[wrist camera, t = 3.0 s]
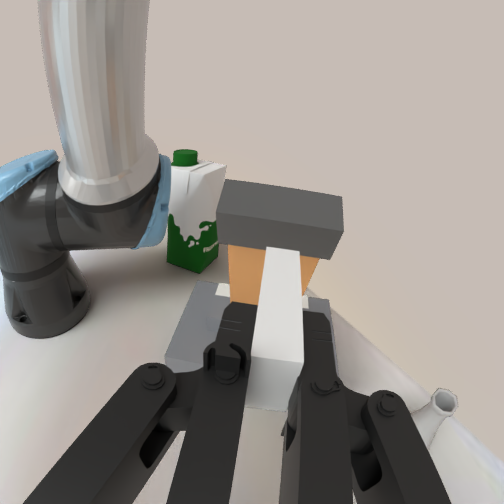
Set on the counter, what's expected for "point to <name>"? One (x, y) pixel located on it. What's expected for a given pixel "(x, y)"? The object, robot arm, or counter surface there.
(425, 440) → the flask
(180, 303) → the counter surface
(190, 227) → the milk carton
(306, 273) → the lever
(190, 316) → the switch box
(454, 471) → the counter surface
